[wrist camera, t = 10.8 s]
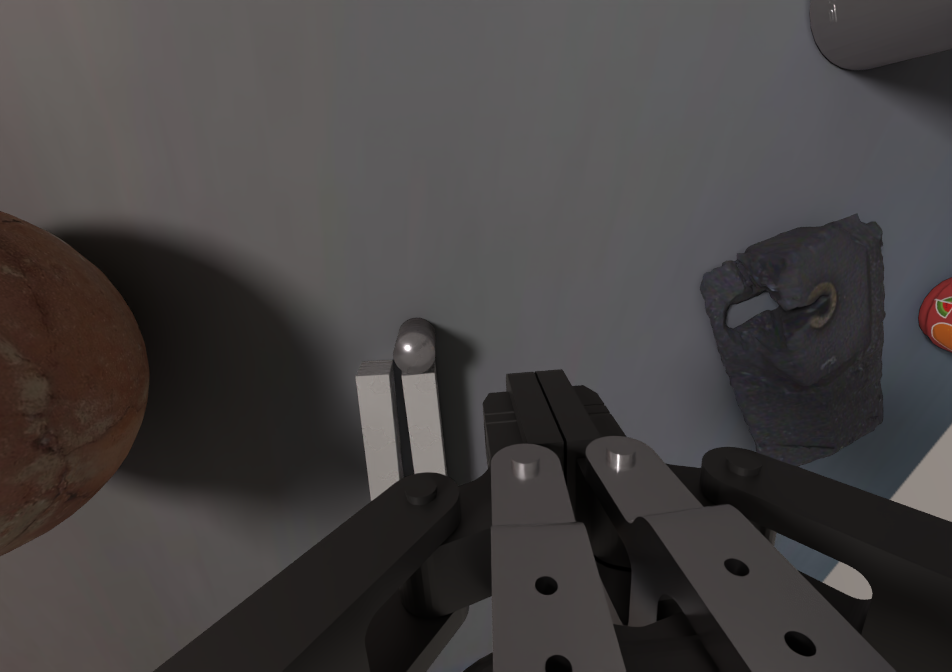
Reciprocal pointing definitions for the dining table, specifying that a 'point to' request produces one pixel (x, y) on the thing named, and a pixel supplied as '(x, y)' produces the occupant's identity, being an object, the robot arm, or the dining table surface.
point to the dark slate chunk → (805, 337)
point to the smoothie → (938, 315)
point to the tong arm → (424, 421)
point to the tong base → (390, 402)
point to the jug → (61, 381)
